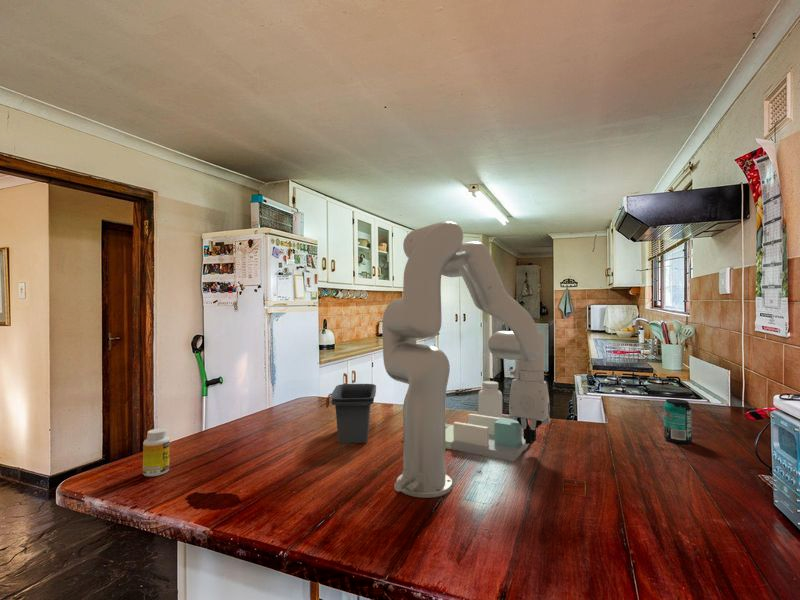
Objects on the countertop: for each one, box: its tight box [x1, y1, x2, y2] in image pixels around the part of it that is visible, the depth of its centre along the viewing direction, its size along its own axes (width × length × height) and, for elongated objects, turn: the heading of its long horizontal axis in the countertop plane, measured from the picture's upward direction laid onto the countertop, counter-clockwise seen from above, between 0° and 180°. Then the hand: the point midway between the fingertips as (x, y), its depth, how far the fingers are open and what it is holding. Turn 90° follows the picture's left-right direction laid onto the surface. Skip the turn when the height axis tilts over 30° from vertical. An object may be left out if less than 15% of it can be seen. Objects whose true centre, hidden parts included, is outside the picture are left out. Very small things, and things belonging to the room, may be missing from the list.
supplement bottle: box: [142, 427, 171, 477], centre depth 100 cm, size 6×6×10 cm
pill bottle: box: [477, 380, 503, 418], centre depth 138 cm, size 8×8×15 cm
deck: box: [445, 413, 530, 463], centre depth 122 cm, size 16×34×7 cm, turn 58°
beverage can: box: [663, 398, 693, 445], centre depth 123 cm, size 7×7×12 cm
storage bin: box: [325, 383, 377, 444], centre depth 129 cm, size 21×16×14 cm
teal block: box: [494, 417, 523, 448], centre depth 115 cm, size 6×6×6 cm
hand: (529, 442), depth 112 cm, fingers closed
